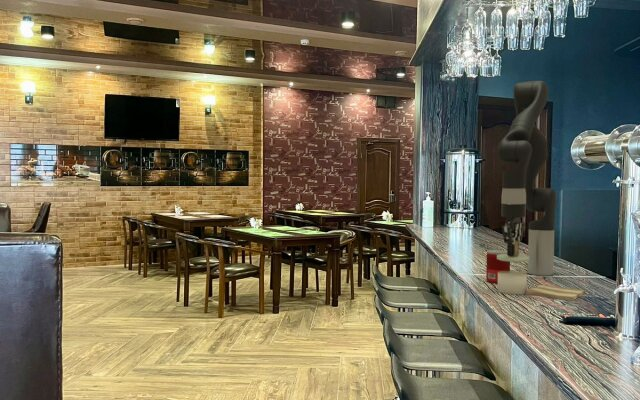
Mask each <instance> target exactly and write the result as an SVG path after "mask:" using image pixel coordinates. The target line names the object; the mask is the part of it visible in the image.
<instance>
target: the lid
mask: <svg viewBox="0 0 640 400" xmlns="http://www.w3.org/2000/svg"><path fill="white" fill-rule="evenodd" d="M514 245H515V255H514V256H508V255H507V254H499V255H497V259H498V260H501V261H509V262H510V263H513V262H515V263H516V262H517V263H522V262H525V263H526V262H528V261H529V256H528V255H526V254H518V241H515V244H514Z"/></svg>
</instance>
